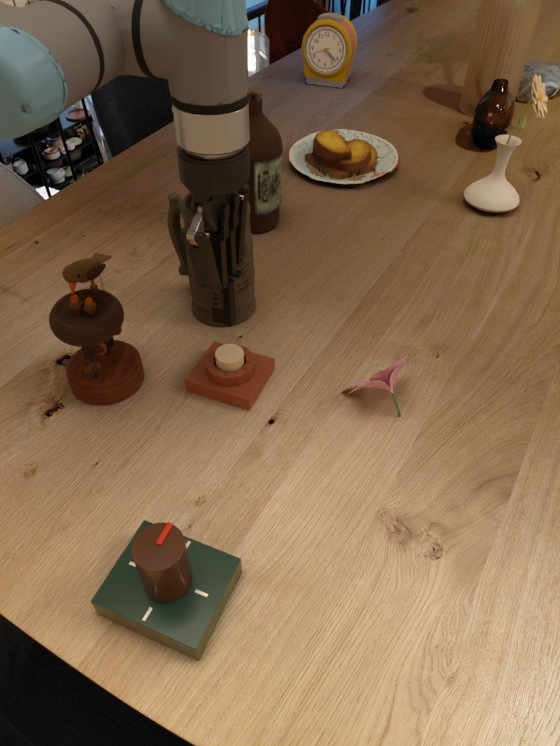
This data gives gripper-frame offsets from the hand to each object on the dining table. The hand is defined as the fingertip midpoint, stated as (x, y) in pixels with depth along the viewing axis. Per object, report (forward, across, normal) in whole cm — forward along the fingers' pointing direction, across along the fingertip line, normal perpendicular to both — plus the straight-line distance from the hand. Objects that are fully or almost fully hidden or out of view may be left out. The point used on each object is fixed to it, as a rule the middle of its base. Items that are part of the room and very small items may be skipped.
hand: (224, 320), depth 75 cm
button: (+8, 0, 0) cm, 8 cm away
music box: (+12, +8, -16) cm, 21 cm away
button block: (+11, 0, 0) cm, 11 cm away
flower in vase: (+11, -69, +28) cm, 76 cm away
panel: (+11, +31, +8) cm, 34 cm away
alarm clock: (+12, -125, -28) cm, 129 cm away
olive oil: (+12, -42, -14) cm, 46 cm away
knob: (+8, +31, +8) cm, 33 cm away
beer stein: (+12, -15, -11) cm, 22 cm away
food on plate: (+11, -74, -6) cm, 75 cm away
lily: (+11, -5, +21) cm, 25 cm away
